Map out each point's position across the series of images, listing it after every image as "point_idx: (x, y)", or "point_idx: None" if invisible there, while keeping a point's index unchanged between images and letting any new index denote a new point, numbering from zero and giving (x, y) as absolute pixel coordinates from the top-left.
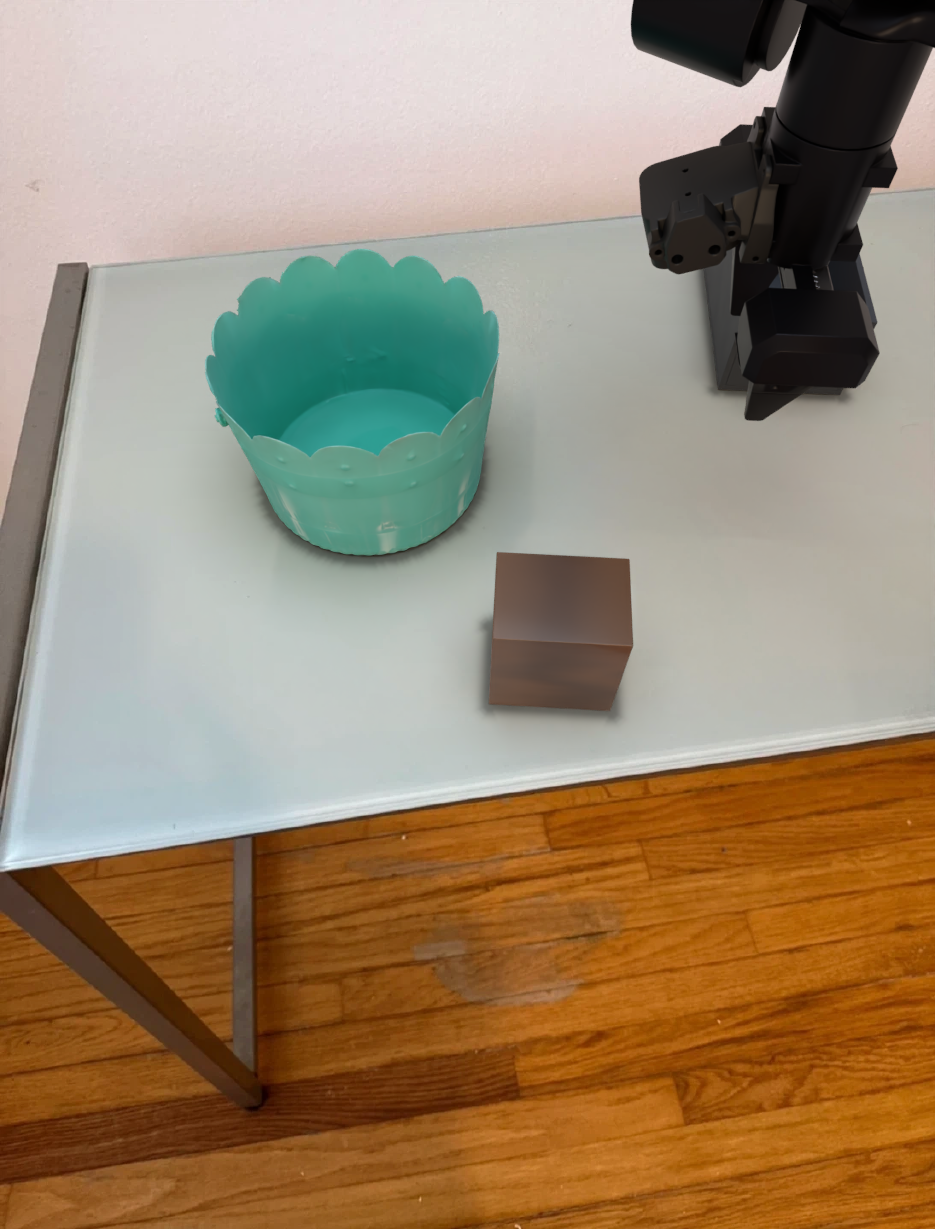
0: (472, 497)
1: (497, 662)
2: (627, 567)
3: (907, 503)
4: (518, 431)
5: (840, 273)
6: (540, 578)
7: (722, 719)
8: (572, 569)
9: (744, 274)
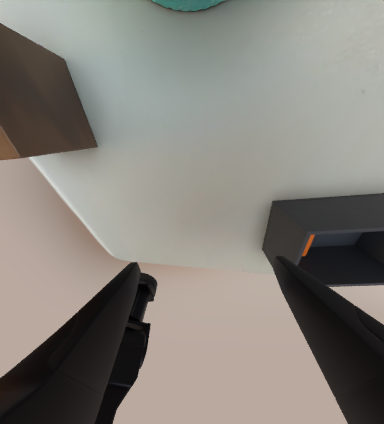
0: (162, 3)
1: None
2: (11, 156)
3: (204, 263)
4: (246, 52)
5: (335, 268)
6: None
7: (80, 201)
8: None
9: (315, 309)
